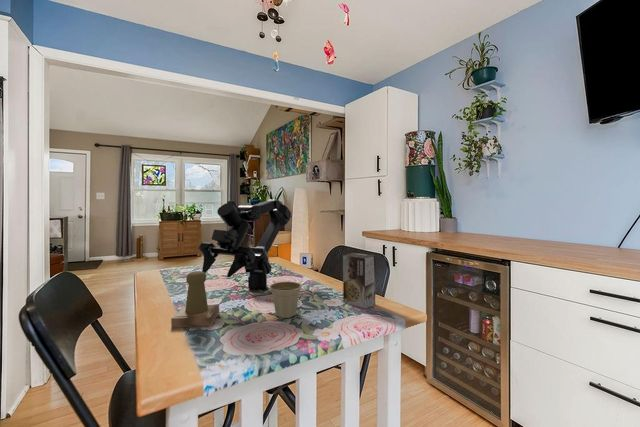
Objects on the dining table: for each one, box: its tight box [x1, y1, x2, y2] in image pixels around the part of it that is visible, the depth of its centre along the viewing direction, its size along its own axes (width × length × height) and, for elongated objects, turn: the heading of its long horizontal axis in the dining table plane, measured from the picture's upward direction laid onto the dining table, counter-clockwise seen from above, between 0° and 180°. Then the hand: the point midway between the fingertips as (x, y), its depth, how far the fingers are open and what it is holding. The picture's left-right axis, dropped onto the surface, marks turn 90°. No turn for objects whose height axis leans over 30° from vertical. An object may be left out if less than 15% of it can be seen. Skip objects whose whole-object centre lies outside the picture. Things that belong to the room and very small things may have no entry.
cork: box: [185, 270, 209, 314], centre depth 85 cm, size 6×6×11 cm
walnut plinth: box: [170, 304, 220, 329], centre depth 85 cm, size 10×10×3 cm
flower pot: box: [269, 281, 302, 319], centre depth 90 cm, size 9×9×9 cm
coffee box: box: [342, 252, 376, 309], centre depth 100 cm, size 9×6×16 cm
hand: (215, 275), depth 94 cm, fingers open, 9 cm apart
